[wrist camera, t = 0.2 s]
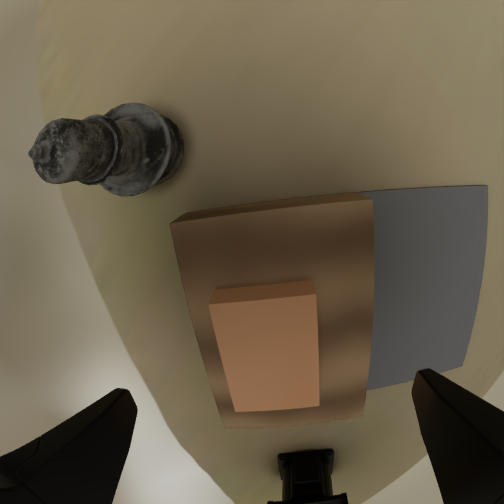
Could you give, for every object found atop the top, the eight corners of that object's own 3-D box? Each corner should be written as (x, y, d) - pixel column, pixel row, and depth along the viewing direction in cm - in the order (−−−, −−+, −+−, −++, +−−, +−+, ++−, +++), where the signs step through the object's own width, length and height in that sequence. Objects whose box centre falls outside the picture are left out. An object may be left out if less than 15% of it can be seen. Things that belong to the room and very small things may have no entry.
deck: (355, 389, 25) (362, 416, 21) (229, 401, 26) (224, 428, 23) (356, 192, 19) (372, 199, 16) (185, 212, 21) (169, 223, 17)
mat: (461, 364, 23) (462, 366, 23) (355, 389, 25) (356, 392, 24) (485, 185, 18) (488, 185, 18) (356, 192, 19) (357, 192, 19)
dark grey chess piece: (101, 147, 20) (-23, 155, 8) (157, 94, 18) (46, 47, 7) (143, 205, 21) (31, 259, 9) (204, 154, 20) (117, 155, 8)
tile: (316, 387, 21) (319, 405, 19) (238, 393, 21) (235, 411, 19) (311, 279, 18) (316, 293, 16) (214, 289, 19) (208, 304, 17)
